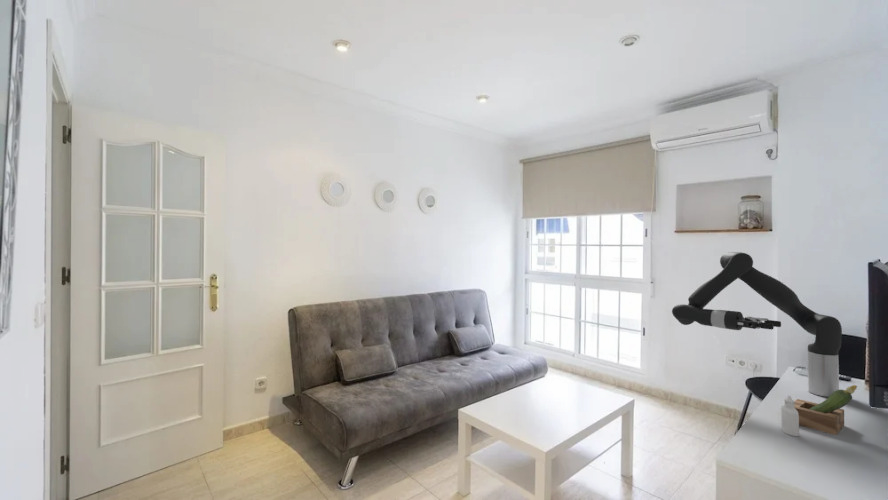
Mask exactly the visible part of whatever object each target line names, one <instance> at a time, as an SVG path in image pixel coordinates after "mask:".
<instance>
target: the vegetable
mask: <svg viewBox="0 0 888 500" xmlns="http://www.w3.org/2000/svg"><path fill="white" fill-rule="evenodd" d="M857 387H858V385H855V384H854V385H853V384H852V385H851V386H848V387H846V389H839V390H837V391H835V392H833V393H832V394H831V395H830V396H829V397H826V398H825V400H823V401H822V402H819V403H817V405H815V406H813V407H812V408H810V410H814V411H818V412H822V413H826V414H827V413H828V412H833V411H835V410H837V409H842V408H843V407H845V406H846V405H848V404H850V402H851V401H852V399H853V396H852V394H854V393H855V391H856V390H857Z"/></svg>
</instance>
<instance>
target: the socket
mask: <svg viewBox="0 0 888 500" xmlns="http://www.w3.org/2000/svg"><path fill="white" fill-rule="evenodd" d="M794 401H795V407H794V408H795V409H796V410H797V411H798V414H799V426H801V427H805V428H808V429H813V430H816V431H819V432H822V433H823V432H824V433H826V434H827V433H828V434H830V435H834V436H836V435H838V433H839V432H840V431H841V430H842V429H843V428H844V427H845V409H842V408H840V409H837V410H835V411H833V412H828V413H827V414H826V413H822V412H818V411H814V410H810V408H812V407H813V406H815V405H817V404H818V403H817V402H812V401H809V400H804V399H800V398H797V399H795V400H794Z"/></svg>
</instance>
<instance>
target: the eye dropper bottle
mask: <svg viewBox="0 0 888 500" xmlns="http://www.w3.org/2000/svg"><path fill="white" fill-rule="evenodd" d="M795 401H796V400H793V398H792V396H791V395H788V396H787V398H785V399H784V405H782V406H781V407H780V415H781V416H780V417H781V418H780V422H781V423H780V424H781V427H780V429H781V431H782V432H784V433H785V434H787V435H789V436H792V437H800V425H799V414H798V411H797V410H796V409H795V408H794V407H795Z"/></svg>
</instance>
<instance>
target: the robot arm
mask: <svg viewBox="0 0 888 500" xmlns="http://www.w3.org/2000/svg"><path fill="white" fill-rule="evenodd" d="M719 263H720V266H721V268H722V270H721V271H720V272H719V273H718V274H717V275H715V276H714V277H711V279H709V280H707V281H706V282H704V283H702V284H701V285H700V286H699V287H698V288H697V289H696V290H694V291H693V292H692V293H691V294H690V295H689V297H688V303H687V304H685V303H684V304H683V303H681V304H680V303H679V304H677V305H675V306H673V308H672V310H671V313H672V315H673V317H674V318H675V319H676V320H677V321H678V322H679V323H680V324H681V325H684V326H689V325H691V324H693V323H694V322H695V323H698V324H700V325H702V326H705V327H706V326H709V327H715V328H720V329H725V330H733V331H741V330H742V329H743V328H746V329H754V330H756V329H765V330H774V328H781V327H782V322H781V321H780V320H770V319H769V318H762V317H754V316H747V317H744V315H743V313H742V312H741V311H736V310H735V311H734V310H726V309H725V310H724V309H710V308H708V309H707V308H705V307H706V306H707V305H709V304H710V302H711V301H712V300H713V299H715V298H716V296H718V295H719V294H720V293H721V292H722V291H723V290H725V288H727V287H728V286H729V285H731V284H732V283H734V281H737V279H739V280H740V281H742V282H744V283H745V284H746V285H748V287H750V288H751V290H753V291H754V292H756V293H757V294H758V295H759V296H761V297H762V298H764V299H765V300H766V301H767V302H769V303H770V304H771V305H773V306H774V307H776V308H778V309H779V310H780V311H782V312H783V314H785V315H787V316H789V317H790V318H791V319H793V320H794V321H795V322H796V323H797V324H798V325H799V326H800V327H801V328H802V329H803V330H804V331H806V332H807V333H808V334H811V335H813V336H815V340H814V342H813V343H810V344H808V345H807V376H808V377H807V379H808V380H807V382H808V383H807V386H808V392H809V393H810V394H812V395H813V394H814V395H816V396H821V397H826V398H828V397H829V396H830V395H831V394H832V393H833V392H835V391H837V390H840V375H839V374H840V373H839V372H840V371H839V370H840V368H839V367H840V365H839V364H840V363H839V352H840V349H841V347H842V335H843V331H842V330H843V328H842V324H841V322H840V321H839V319H838V318H836V317H833V316H831V315H827V314H820V313H817V312H815V311H813V310H812V309H810V308H809V307H807V306H806V305H804V304H803V303H802V302H801V300H800V299H799V297H798V295H797V294H796V293H795V291H793V290H792V288H790V287H788V286H787V285H786V284H785V283H784V282H781V281H780V280H779V279H776V278H775V277H773V276H771V275H768V274H766V273H764V272H762V271H760V270H759V269H757V268H755V267H754V266H753V265H754V260H753V257H752V256H751V255H750V254H749V253H746V252H741V251H730V252H726V253H724V254H722V255H721V257H720V258H719Z"/></svg>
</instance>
